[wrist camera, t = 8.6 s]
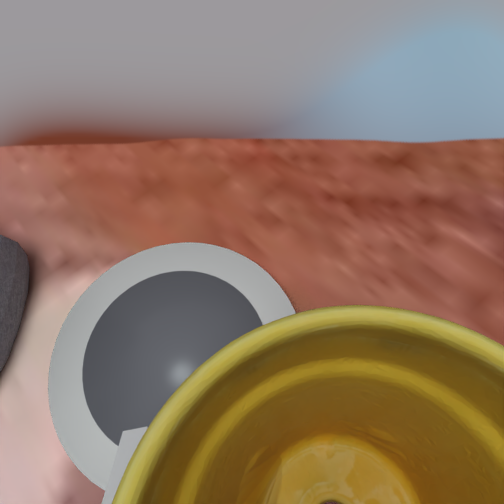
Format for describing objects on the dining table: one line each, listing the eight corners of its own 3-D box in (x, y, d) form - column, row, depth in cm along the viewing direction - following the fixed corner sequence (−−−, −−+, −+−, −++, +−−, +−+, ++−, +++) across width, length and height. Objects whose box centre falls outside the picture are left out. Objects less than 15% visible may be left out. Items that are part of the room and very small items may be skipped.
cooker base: (20, 476, 29) (4, 477, 28) (102, 239, 37) (93, 229, 35) (287, 530, 27) (287, 534, 25) (316, 263, 34) (317, 254, 33)
